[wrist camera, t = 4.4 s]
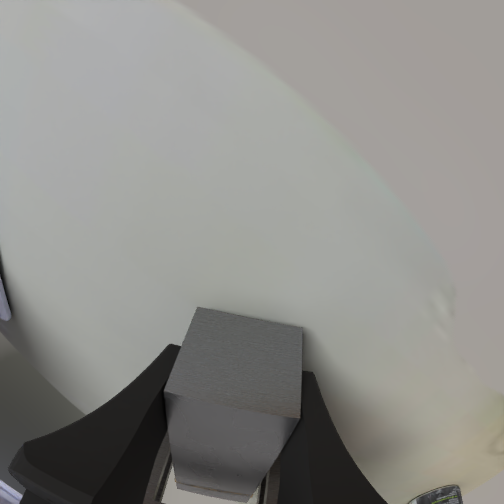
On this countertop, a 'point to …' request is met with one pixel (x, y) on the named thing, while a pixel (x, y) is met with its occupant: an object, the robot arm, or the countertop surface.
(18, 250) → the countertop surface
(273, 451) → the gray rectangular prism
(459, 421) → the countertop surface
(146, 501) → the bracket
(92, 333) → the countertop surface
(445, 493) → the pill bottle
